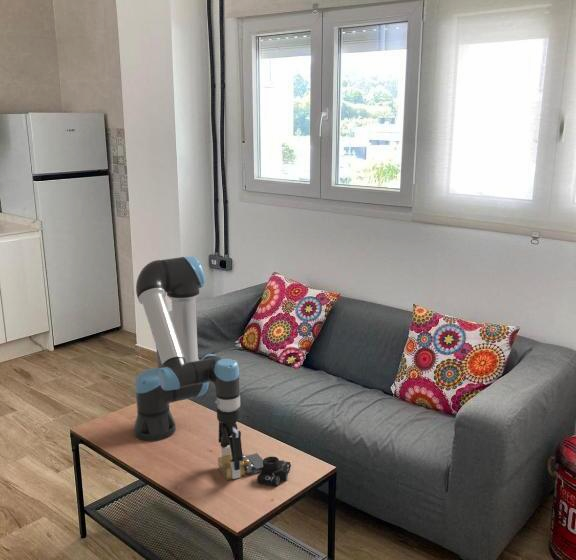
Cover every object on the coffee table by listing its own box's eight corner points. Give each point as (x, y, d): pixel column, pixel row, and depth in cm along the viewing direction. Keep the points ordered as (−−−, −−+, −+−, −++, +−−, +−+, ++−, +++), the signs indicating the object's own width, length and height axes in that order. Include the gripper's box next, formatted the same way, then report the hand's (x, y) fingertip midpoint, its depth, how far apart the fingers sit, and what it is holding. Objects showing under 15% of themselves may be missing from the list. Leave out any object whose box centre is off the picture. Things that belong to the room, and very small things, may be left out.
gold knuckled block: (245, 461, 217) (245, 450, 216) (255, 472, 210) (254, 461, 209) (218, 468, 213) (217, 457, 212) (227, 480, 206) (226, 469, 205)
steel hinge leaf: (257, 457, 219) (256, 449, 219) (268, 469, 211) (268, 461, 211) (236, 462, 216) (236, 454, 216) (247, 475, 208) (247, 467, 208)
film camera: (271, 447, 215) (294, 448, 209) (277, 468, 216) (300, 469, 210) (246, 466, 205) (270, 468, 199) (253, 488, 206) (277, 490, 200)
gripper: (206, 397, 212) (209, 459, 218) (229, 423, 194) (232, 489, 200) (227, 393, 216) (230, 454, 221) (252, 417, 197) (254, 483, 203)
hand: (231, 471), depth 211 cm, fingers closed on gold knuckled block, 8 cm apart
